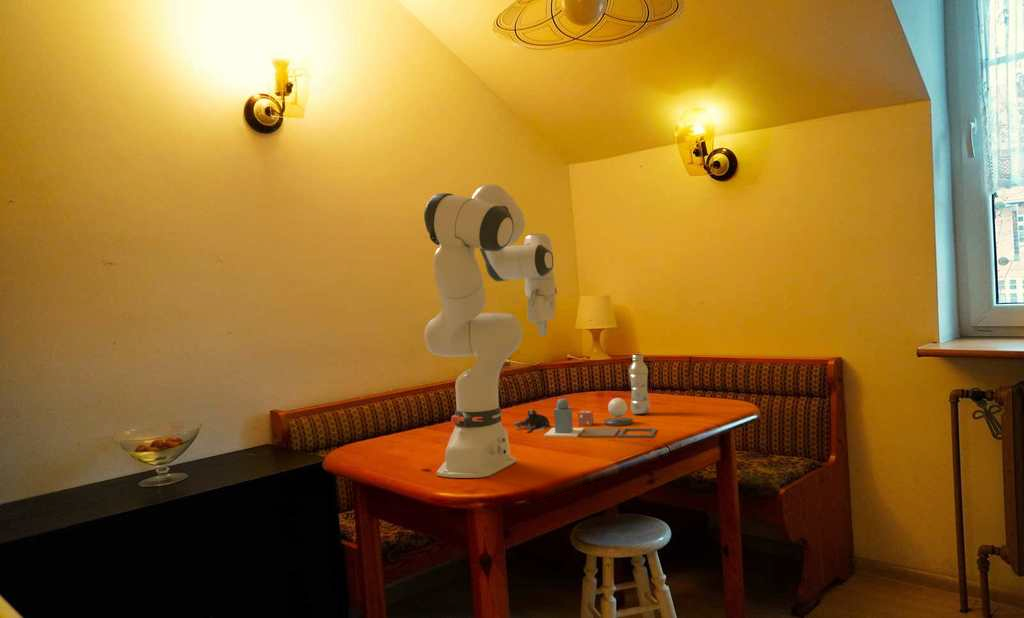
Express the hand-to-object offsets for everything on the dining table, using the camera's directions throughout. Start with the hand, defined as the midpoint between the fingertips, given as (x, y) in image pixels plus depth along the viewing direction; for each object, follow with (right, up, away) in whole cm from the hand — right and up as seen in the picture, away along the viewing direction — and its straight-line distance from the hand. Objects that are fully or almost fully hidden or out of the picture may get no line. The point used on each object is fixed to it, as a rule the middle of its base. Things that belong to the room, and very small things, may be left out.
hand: (542, 336), depth 212 cm
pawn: (+7, -29, +4) cm, 30 cm away
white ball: (+24, -26, +14) cm, 38 cm away
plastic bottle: (+34, -27, +27) cm, 51 cm away
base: (+25, -28, +14) cm, 40 cm away
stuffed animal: (-3, -31, +16) cm, 34 cm away
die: (+15, -29, +15) cm, 36 cm away
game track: (+17, -29, +1) cm, 34 cm away
